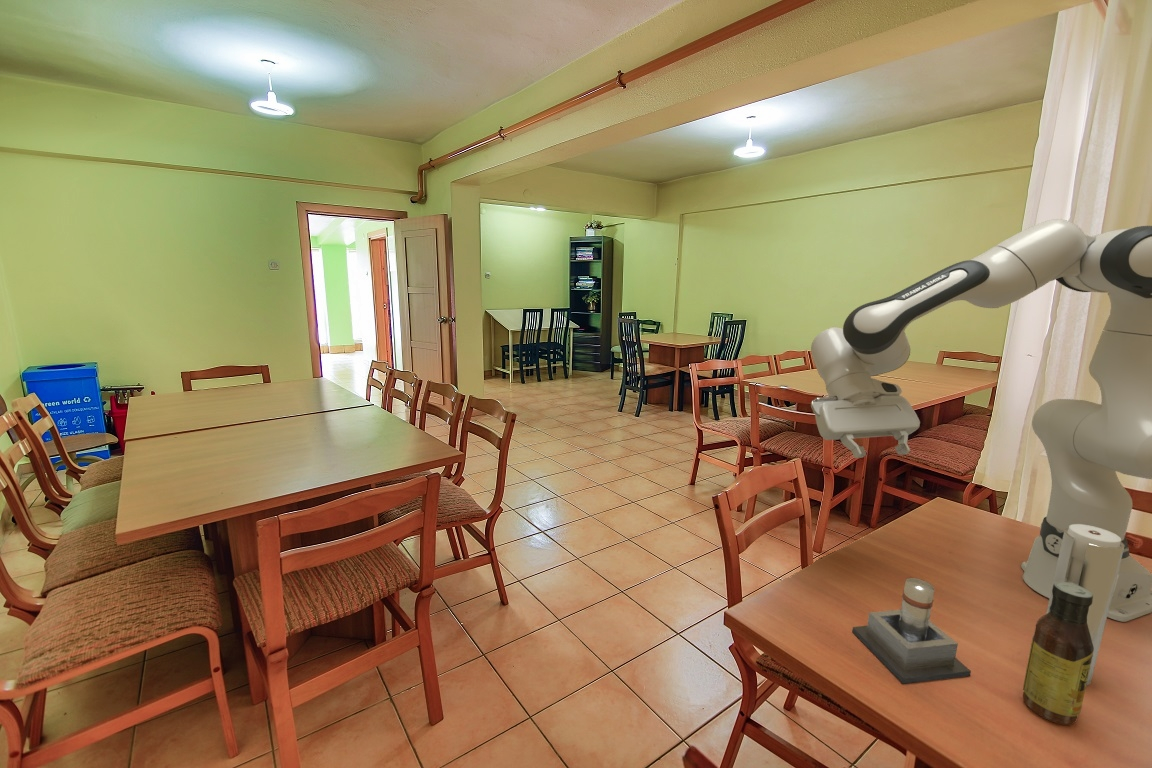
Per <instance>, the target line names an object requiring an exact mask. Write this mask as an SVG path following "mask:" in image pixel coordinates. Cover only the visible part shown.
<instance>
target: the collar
mask: <svg viewBox="0 0 1152 768" xmlns="http://www.w3.org/2000/svg"><path fill="white" fill-rule="evenodd" d="M900 613H901V609H893V610H882V611H872V612H871V611H870V612H869V613H868V618H867V619H868V620H867V625H859V626H853V627H852V633H853V634H854V636H855V637H857V639H859V641H861V643H863V645H864V646H865V647H866V648H867V649H868V650H869V651H870V652H871V653H872V654H873V655H874V656H875V657H876V658H877V659H878V660H879V661H880V662H881V663H882V664H883V665H884V666H885V668H887V670H889V672H890V673H892V675H894V677H895V678H896V679H897V680H898V681H899V682H900V683H901V684H902V685H906V684H916V683H923V682H924V683H925V682H933V681H940V680H941V681H942V680H950V679H957V678H967V677H970V676H971V673H972V670H971V669H970V668H969V667H967V666H966V665H965V664H963V663H962V662H961V660H959V659H958V658H957V656H956V655H957V651H958V645H959V644H958V642H956V640H955V639H953V638H952V637H951V636H949V635H948V634H947V633H946V632H945V631H943V630H942V629H941V628H940V627H938V626H937V625H936V624H934V622H932V621H931V620H930V619H929V624H928V630H927V636H926V641H921V642H912V643H909V642H908V641H907V640H906V639H904V638H903V637H902V636H901V635H900V634H899V633H898V632H897V631H898V625H899V619H900Z"/></svg>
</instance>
